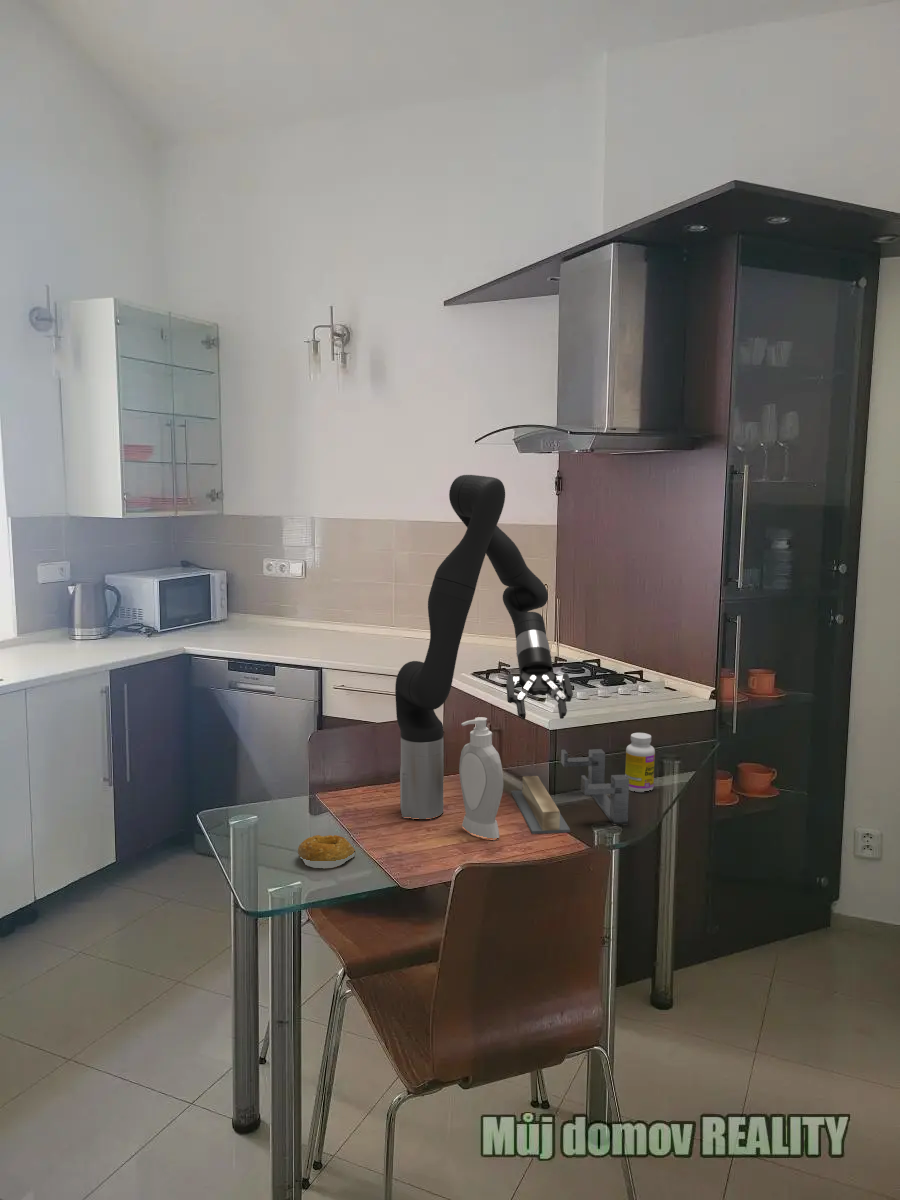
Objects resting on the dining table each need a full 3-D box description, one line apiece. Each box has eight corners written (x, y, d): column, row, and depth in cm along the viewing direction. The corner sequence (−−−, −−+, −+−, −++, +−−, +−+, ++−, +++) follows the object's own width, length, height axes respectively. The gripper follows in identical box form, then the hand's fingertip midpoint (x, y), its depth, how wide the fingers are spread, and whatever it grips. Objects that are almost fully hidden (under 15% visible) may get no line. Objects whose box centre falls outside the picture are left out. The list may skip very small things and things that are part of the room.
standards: (583, 826, 192) (584, 780, 191) (560, 792, 213) (561, 749, 211) (627, 825, 193) (629, 778, 192) (600, 790, 214) (601, 748, 212)
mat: (532, 833, 188) (532, 831, 188) (511, 793, 212) (511, 790, 212) (570, 832, 189) (570, 829, 189) (545, 791, 213) (545, 789, 213)
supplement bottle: (646, 795, 211) (647, 741, 209) (619, 789, 215) (621, 736, 213) (658, 787, 216) (660, 734, 214) (632, 781, 220) (634, 729, 218)
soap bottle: (441, 829, 190) (441, 715, 187) (469, 820, 195) (469, 709, 192) (483, 849, 181) (484, 729, 177) (511, 839, 186) (512, 722, 182)
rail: (542, 830, 189) (543, 812, 188) (522, 793, 210) (522, 776, 210) (559, 829, 189) (559, 811, 188) (537, 792, 211) (537, 775, 210)
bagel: (361, 866, 173) (360, 842, 173) (303, 875, 170) (302, 850, 169) (349, 846, 183) (348, 823, 182) (294, 855, 179) (293, 831, 178)
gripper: (504, 646, 204) (513, 709, 194) (567, 644, 205) (578, 707, 196) (500, 664, 210) (508, 726, 200) (561, 663, 211) (572, 725, 202)
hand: (543, 717), depth 198 cm, fingers open, 8 cm apart
